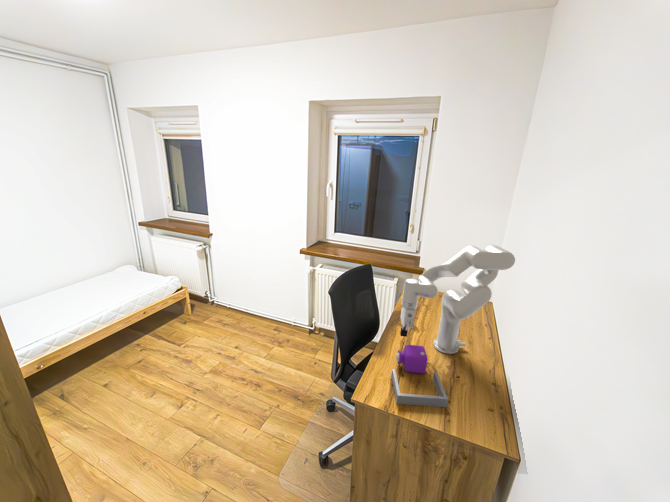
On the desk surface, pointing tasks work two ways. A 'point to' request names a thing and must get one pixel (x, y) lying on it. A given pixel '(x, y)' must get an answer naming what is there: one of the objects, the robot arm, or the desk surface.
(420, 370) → the toy camera
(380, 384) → the desk surface
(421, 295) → the robot arm
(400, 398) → the cradle
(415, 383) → the desk surface
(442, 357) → the desk surface
